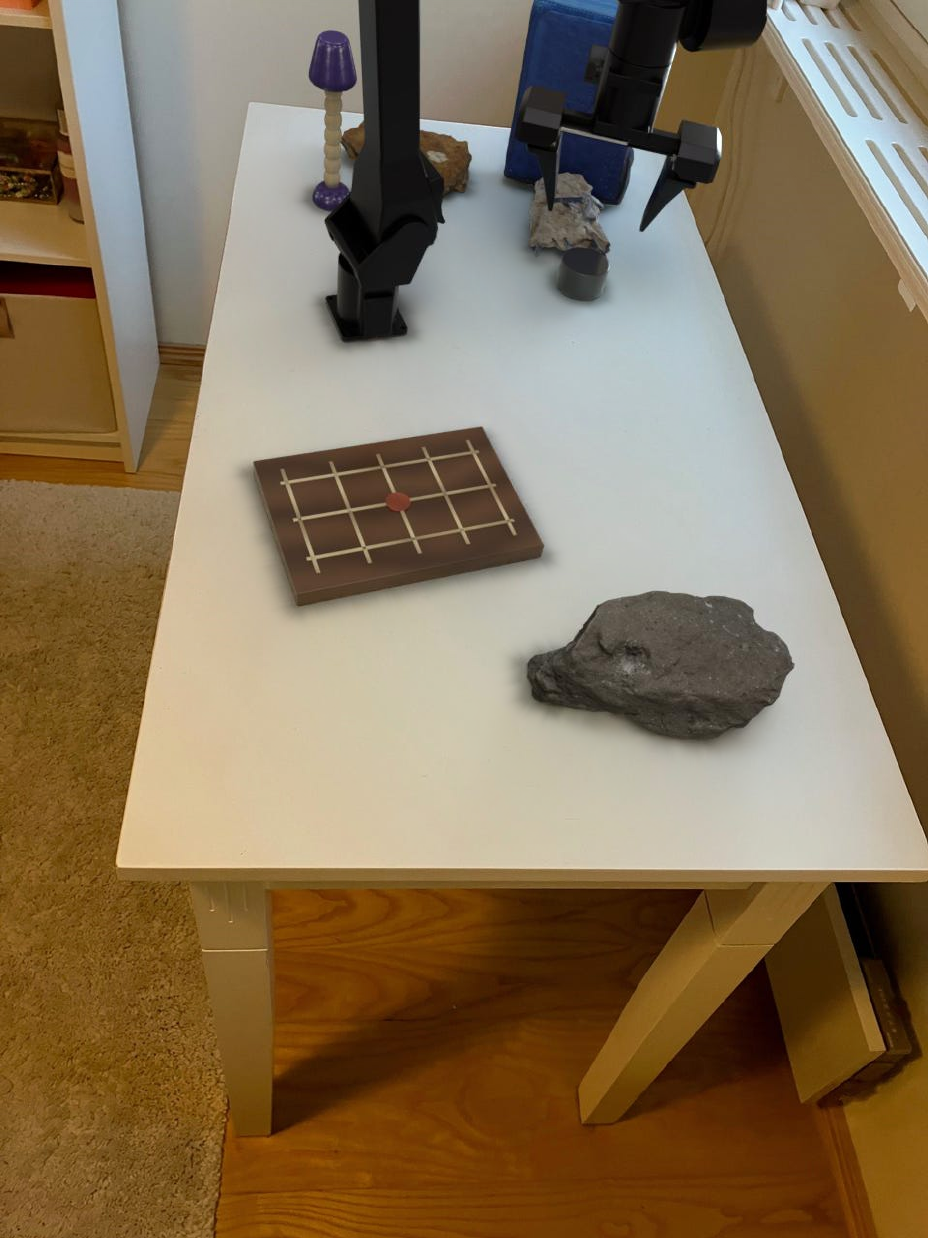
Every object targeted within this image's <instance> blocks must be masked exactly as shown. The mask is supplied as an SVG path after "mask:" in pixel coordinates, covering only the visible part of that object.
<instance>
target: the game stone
mask: <svg viewBox="0 0 928 1238" xmlns="http://www.w3.org/2000/svg"><path fill="white" fill-rule="evenodd" d="M607 259H608V257H607V258H606V257H605V256H603V255H602V254H601V253H599V252H597V251H595V250H592V249H589V248H583V247H575V248H571V249H568V250H564V252H563V253H562V256H561V259H560V262H559V266H558V271H557V275H556V279H555V285H556V287H557V289H558V291H559V292H560V293H561V294H562V295H564V296H565V297H567V298H570V299H572V300H576V301H581V302H589V301H594V300H597V299H598V298H600V297H601V296H602V294H603V291H604V288H605V285H606V282H607V277H608V275H609V272H610V267H611V266H610V261H609V262H608V260H609V259H608V260H607Z"/></svg>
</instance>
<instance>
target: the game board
mask: <svg viewBox="0 0 928 1238" xmlns="http://www.w3.org/2000/svg"><path fill="white" fill-rule="evenodd" d="M252 463H253V475H254V479H255V482H256V485H257V488H258V490H259V494H260V497H261V500H262V503H263V506H264V510H265V512H266V515H267V518H268V522H269V524H270V527H271V530H272V533H273V537H274V540H275V543H276V546H277V548H278V551H279V555H280V558H281V561H282V564H283V567H284V570H285V574H286V576H287V579H288V583H289V585H290V588H291V592H292V594H293V598H294V601H295V603H296V604H295V605H296V606H297V607H300V606H304V605H309V604H314V603H315V604H316V603H319V602H324V601H330V600H334V599H340V598H346V597H350V596H355V595H359V594H365V593H369V592H374V591H378V590H385V589H389V588H394V587H398V586H403V585H410V584H413V583H418V582H424V581H428V580H435V579H439V578H444V577H448V576H454V575H459V574H463V573H468V572H474V571H478V570H483V569H488V568H493V567H497V566H502V565H508V564H513V563H518V562H522V561H523V562H524V561H527V560H532V559H537V558H541V557H542V555H543V552H544V548H545V543H544V541H543V539H542V538H541V536H540V534H539V532H538V530H537V528H536V526H535V524H534V522H533V521H532V519H531V517H530V515H529V513H528V511H527V509H526V507H525V505H524V504H523V501H522V499H521V498H520V496H519V494H518V492H517V490H516V488H515V486H514V484H513V482H512V480H511V479H510V477H509V475H508V473H507V471H506V469H505V467H504V465H503V463H502V461H501V459H500V458H499V455H498V454H497V451H496V449H495V448H494V446H493V444H492V442H491V440H490V437H488V434H487V432H486V431H485V429H484V427H483V426H482V425H481V426H474V427H468V428H461V429H454V430H448V431H442V432H436V433H429V434H422V435H417V436H410V437H403V438H396V439H390V440H383V441H377V442H370V443H364V444H357V445H356V444H355V445H350V446H344V447H337V448H331V449H324V450H318V451H310V452H305V453H297V454H291V455H286V456H278V457H272V458H271V457H270V458H266V459H259V460H253V462H252Z"/></svg>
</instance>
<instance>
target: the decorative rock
mask: <svg viewBox="0 0 928 1238" xmlns="http://www.w3.org/2000/svg"><path fill="white" fill-rule="evenodd" d="M364 137H365V134H364V119H363V120H362V121H361V123H360V124H359V125H358V127H349V128H348V129H347V130H344V131H343V133H342V139H341V142H340V144H341V146H342V147H343V149H344V151H345V152H346V154H347V155H348V158H350V159H351V161H354V162H355V161H356V159H357V157H358V155H359V153H360V151H361V149H362V146H363V144H364ZM420 148H421V149H422V151H423V152H424V153H425V155H426V156H427V157H428V159H429V160H430V161H431V162H432V164H433V165H434V166H435V168H436V169H437V170H438V172H439V173H440V174H441V175H442V177H443V178H444V194H443V196H445V195H446V194H447V193H449V194H450V193H451V192H452V191H453V190H457V191H458V192H459V193H464V192H465V191H466V190H467V187H468V185H467V182H468V180H469V176H470V165H471V162H472V160H473V155H472V154H471V153H470V150H469V142H468V141H467V140H461V141H460V140H457V139H456V138H455V137H453V136H452V135H451V134H450V135H449V134H445V133H437V132H435V131H429V130H428V131H427V130H424V129H420Z"/></svg>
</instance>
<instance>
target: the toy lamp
mask: <svg viewBox="0 0 928 1238" xmlns="http://www.w3.org/2000/svg"><path fill="white" fill-rule="evenodd" d="M309 64H310V65H309V68H308V79H309V81H310V83H311V84H312V85H313V87H316V88H318V89H320V90H323V91H324V96H325V98H324V102H323V106H324V110H325V113H324V117H323V121H324V126H325V128H324V131H323V138H324V141H325V142H324V145H323V154H324V158H323V168H324V172H323V180H322V181H320V182H318V184H317V185H316V186H315V187H314V189H313V191H312V197H311V199H312V202H313V204H314V205H316V206H317V208H320V209H322V210H325V211H329V212H332V211H333V210H334V209H335V208H336V207H337V205H338V204H339V203H340V202H341V201H342V200H343V199H344V198H345V197H346V196H347V195H348V194H349V193H350V192H351V190H350V188H348V186H347V185H346V184H344V183H343V182H342V181H341V179H342V177H341V176H342V175H341V171H340V170H341V167H342V160H341V155H342V144H341V143H340V142H341V139H342V136H343V132H342V129H341V127H342V124H343V116H342V110H343V100H342V96H343V92H347V91H350V90H352V89H353V88H354V87H355V86H356V85H357V81H358V76H357V70H356V65H355V61H354V55H353V51H352V46H351V42H350V39H349V37H348V35H346V34H345V33H344V32H341V31H338V30H332V29H329V30H323V31H322V32H320V33H319V34H318V35H317V37H316V40H315V44H314V47H313V52H312V56H311V60H310V63H309Z"/></svg>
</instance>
